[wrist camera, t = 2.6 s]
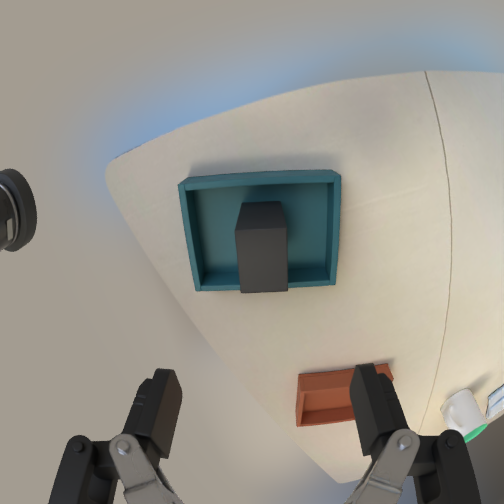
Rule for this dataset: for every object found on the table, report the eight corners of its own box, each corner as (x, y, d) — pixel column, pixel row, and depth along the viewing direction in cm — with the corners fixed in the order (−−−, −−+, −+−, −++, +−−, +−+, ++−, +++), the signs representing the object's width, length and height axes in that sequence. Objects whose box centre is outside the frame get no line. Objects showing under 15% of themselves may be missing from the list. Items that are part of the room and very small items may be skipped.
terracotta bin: (295, 411, 40) (296, 426, 37) (298, 374, 35) (300, 391, 32) (372, 401, 39) (376, 415, 36) (387, 363, 34) (393, 378, 32)
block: (245, 252, 27) (240, 293, 21) (241, 202, 25) (234, 230, 18) (282, 251, 27) (288, 291, 20) (280, 200, 25) (287, 227, 18)
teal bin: (201, 275, 29) (195, 291, 26) (186, 177, 25) (177, 184, 22) (328, 269, 28) (335, 285, 25) (332, 169, 24) (341, 175, 21)
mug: (423, 411, 42) (438, 450, 32) (450, 387, 39) (468, 426, 29) (452, 411, 43) (465, 444, 34) (475, 389, 40) (492, 422, 31)
